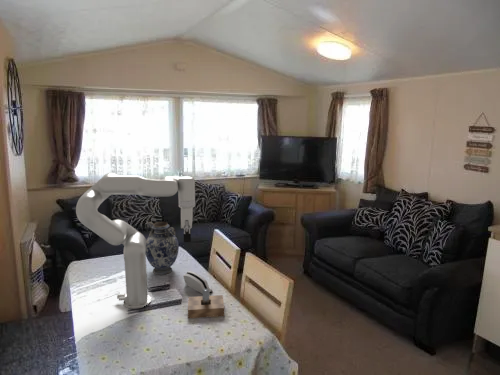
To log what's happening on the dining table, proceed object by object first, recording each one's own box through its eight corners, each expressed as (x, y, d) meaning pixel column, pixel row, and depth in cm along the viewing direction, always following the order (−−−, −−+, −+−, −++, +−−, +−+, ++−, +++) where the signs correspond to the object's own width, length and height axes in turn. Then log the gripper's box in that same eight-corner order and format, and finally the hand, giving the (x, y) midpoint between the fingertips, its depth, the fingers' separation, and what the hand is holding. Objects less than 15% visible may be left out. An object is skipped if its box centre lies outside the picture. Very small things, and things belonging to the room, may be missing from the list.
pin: (202, 312, 173) (202, 291, 171) (202, 308, 176) (202, 288, 174) (209, 311, 174) (209, 291, 172) (209, 308, 177) (209, 288, 175)
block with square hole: (187, 318, 168) (187, 310, 167) (188, 304, 180) (188, 296, 179) (224, 316, 170) (224, 307, 170) (222, 302, 182) (222, 295, 181)
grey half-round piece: (213, 292, 193) (208, 276, 188) (206, 298, 190) (200, 282, 186) (193, 281, 204) (187, 266, 200) (186, 286, 201) (180, 272, 197)
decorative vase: (188, 269, 219) (186, 222, 213) (164, 281, 204) (162, 231, 198) (161, 261, 230) (158, 216, 225) (137, 272, 215) (134, 224, 209)
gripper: (179, 199, 185) (180, 233, 188) (177, 208, 168) (178, 245, 172) (195, 198, 186) (195, 232, 189) (194, 207, 169) (195, 244, 173)
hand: (187, 238), depth 181 cm, fingers open, 9 cm apart
